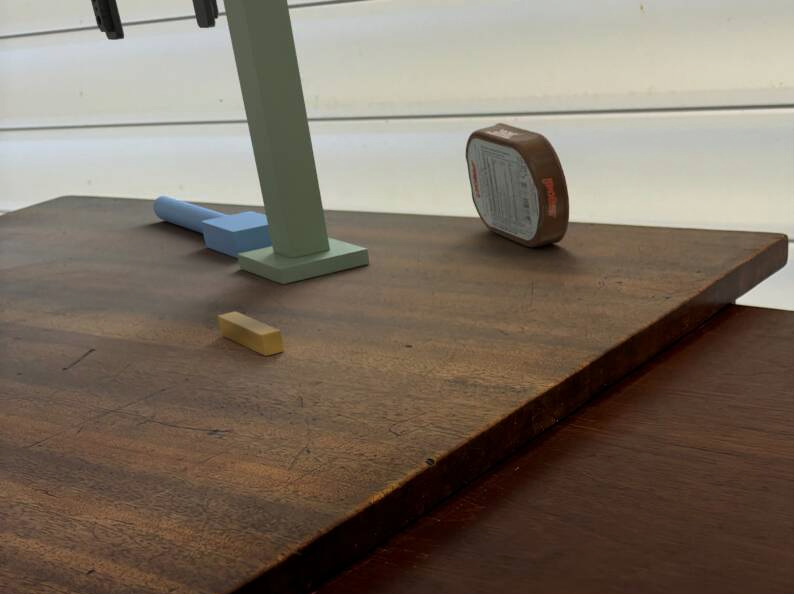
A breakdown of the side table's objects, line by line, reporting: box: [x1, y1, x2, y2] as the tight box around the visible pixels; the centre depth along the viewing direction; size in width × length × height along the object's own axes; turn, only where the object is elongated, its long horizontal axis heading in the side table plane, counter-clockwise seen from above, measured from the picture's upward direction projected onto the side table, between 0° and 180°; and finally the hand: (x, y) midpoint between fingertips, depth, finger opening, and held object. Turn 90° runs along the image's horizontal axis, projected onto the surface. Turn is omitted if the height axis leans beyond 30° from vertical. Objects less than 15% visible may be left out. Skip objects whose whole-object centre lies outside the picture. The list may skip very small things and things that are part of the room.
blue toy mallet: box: [153, 195, 272, 259], centre depth 109 cm, size 22×5×2 cm, turn 38°
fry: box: [217, 310, 285, 357], centre depth 80 cm, size 7×1×1 cm, turn 37°
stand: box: [222, 0, 370, 285], centre depth 88 cm, size 15×8×31 cm, turn 37°
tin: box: [465, 122, 570, 248], centre depth 98 cm, size 15×3×8 cm, turn 27°
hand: (162, 33), depth 101 cm, fingers open, 8 cm apart
